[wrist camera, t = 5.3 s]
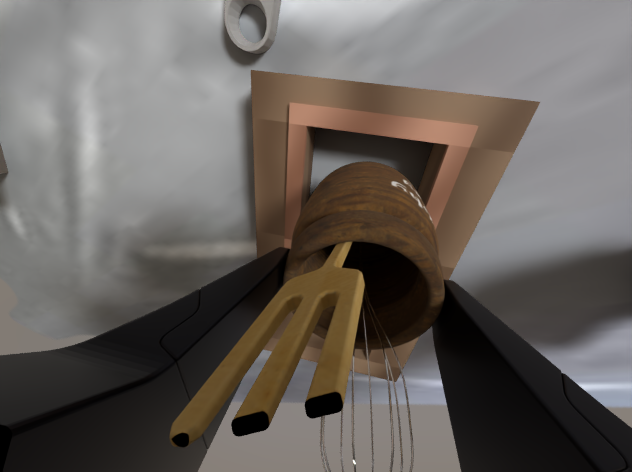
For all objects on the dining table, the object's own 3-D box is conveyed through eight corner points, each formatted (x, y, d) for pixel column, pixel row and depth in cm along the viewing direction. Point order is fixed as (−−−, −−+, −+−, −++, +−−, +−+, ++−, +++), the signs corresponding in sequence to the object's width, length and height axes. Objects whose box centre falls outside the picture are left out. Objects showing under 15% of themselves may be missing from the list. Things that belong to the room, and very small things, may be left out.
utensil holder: (328, 262, 16) (249, 570, 5) (296, 168, 13) (17, 422, 3) (424, 247, 14) (588, 675, 3) (410, 135, 11) (907, 535, 1)
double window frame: (511, 101, 13) (544, 102, 11) (393, 358, 25) (396, 385, 23) (268, 74, 14) (248, 69, 12) (268, 328, 27) (259, 351, 24)
